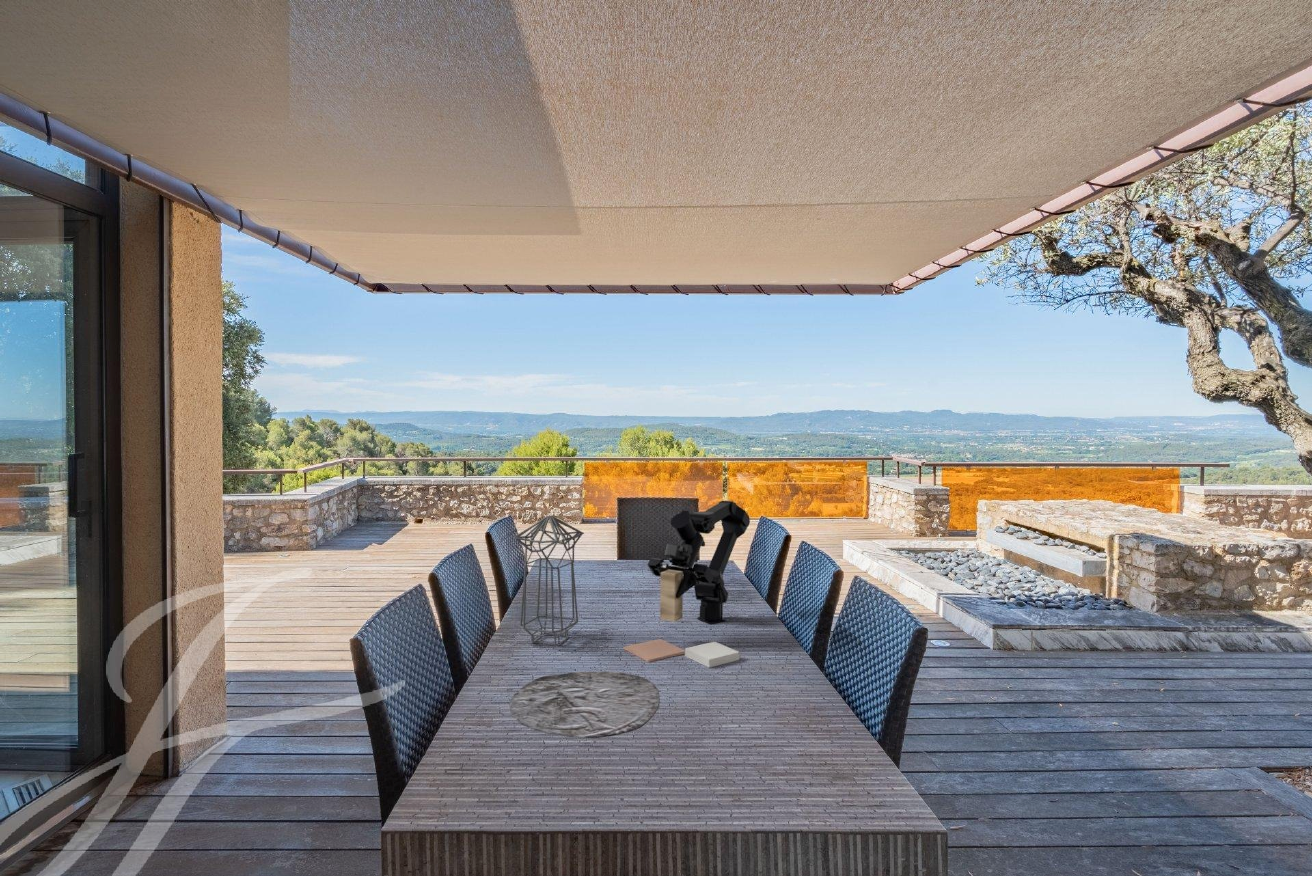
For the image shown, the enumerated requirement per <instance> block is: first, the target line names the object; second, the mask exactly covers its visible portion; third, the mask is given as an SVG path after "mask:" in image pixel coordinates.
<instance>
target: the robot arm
mask: <svg viewBox="0 0 1312 876" xmlns="http://www.w3.org/2000/svg"><path fill="white" fill-rule="evenodd" d="M720 521H721V527H722V531H723V532H722V534H721V537H720V538H719V541H718V544H717V546H716V547H715V550H714V553H713V556H712V559H711V561H710V563H709V565H708V564H703V563H701V564H700V563H698V561H699V558H698V554H699V553H700V550H701V547H706V542H705V539H704V536H702V534H705V535H707V534H711V532H713V530H714V529H715V526H716V525H715V524H717V523H718V522H720ZM750 522H751V518H750V516H749V514H748V512H747V511H746V510H745V509H743V508H741V507H740V506H738V504H737V503H736V502H734V501H731V500H721V501H718V503H717V504H715V505H713V506H712V507H710V508H708V509H706V510H704V511H694V512H689V510H687V509H685V510H683V509H682V510H681V511H680V513H677V514H675V515H674V516H673V517H671V520H670V525H671V527H672V529H673V531H674V532H675V534H676V536H677V537H678V539H679V540H681V542H680V544H679V545H678V544H670V543H668V544H666V546H665V550H664V554H663V556H664V557H668V558H669V559H668V562H669V563H671V564H668V563H667V562H666V561H664V558H656V557H652V558H649V560H648V562H647V564H646V565H647V567H648V568H649V570H650V571H651V573H652V575H653V576H655V577H660V578H661V572H663V571H666V570H676V571H683V579H682V581H681V584H680V586H679V588H678V590H677V593H676V598H679V597H680V596H682V595H684V594H685V593H686V592H688V591H690V589H692V588H694V594H695V599H696V600H697V601H700V605H699V616H697V618H696V619H697V620H699V621H702V622H705V623H707V624H710V625H713V624H716V623H717V624H718V623H721V622H726V621H727V619H726V618H725V617H724V615H723V613H724V612H723V611H724V609H723V608H724V607H723V606H724V604H726V603H727V601H728V598H729V592H728V591H727V590H726V587H725V585H726V584H725V579H724V577H723V576H724V573H725V570H726V567H727V565H728V562H729V560H730V557H731V555H732V552H733V551H734V547H735V545H736V542H737V540H738V538H740V537H741V536H742V535H744V534H745V533H746V532H747V529H748V527H749V526H750Z"/></svg>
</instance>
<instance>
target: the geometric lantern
mask: <svg viewBox="0 0 1312 876" xmlns="http://www.w3.org/2000/svg"><path fill="white" fill-rule="evenodd" d="M548 522H549V523H550V526H551V527H550V528H551V530H547V529H546V528H547V526H548ZM562 525H563V526H565V527H568V528H569V529H571V530H573V531H568V530H566V529H565V528H564V527H563V526H562ZM527 532H528V533H527ZM540 532H541V536H540V538H539V540H535V538H536V537H537V535H538V534H539V533H540ZM526 533H527V534H526ZM524 534H525V535H524ZM550 534H553V535H554V537H552V536H551V535H550ZM572 534H573V535H572ZM584 534H585V533H584V532H583V531H581V530H579V529H578V528H575V527H573V526H572V525H570V524H568V523H566V522H565V521H562V520H561V519H559V518H557V517H555V516H553V515H546V516H545V517H544V518H542V519H540V520H538V521H537V522H535V523H534V524H533V525H531V526H529V527H528V528H526V529H525V530H523V531H521V532H520V533H518V534H516V535H514V537H513V539H514V540H516V542H518V543H519V544H521V546H523V547H524V552H525V553H524V570H523V582H522V584H523V585H522V594H521V608H520V620H519V621H520V623H519V627H520V629H522V630H524V631H525V632H526V633H527V634H529V635H530V637H531V638H530V642H531V643H532V644H541V645H550V646H559V645H561V644H562V643H564V642H565V641H566V640H568V639H569V638H570V637H569V631H570V630H571V629H572V628H573V627H575V625H577V624H578V623H579V614H578V604H577V603H578V602H577V592H576V591H577V590H576V581H575V579H576V578H575V569H574V566H575V565H574V564H575V547H576V546H575V545H576V544H577V542H579V540H580V538H581V537H582V536H583V535H584ZM544 535H546V536H547V537H548V538H549V539H551V540H543V537H544ZM560 536H561V540H560ZM570 541H572V545H571V544H570ZM527 542H529V544H527ZM534 543H535V544H536V543H537V544H538V548H539V549H536V547H535V546H534ZM546 543H548V544H547V545H546V546H544V547H543V548H542V547H541V544H546ZM549 543H550V544H549ZM557 544H560V545H563V548H564V549H565V551H564V552H563V555H562V556H561V557H560V558H554V557H553V558H552V557H550V556H551V554H552V552H553V551H554V549H555V547H556V546H557ZM570 545H571V546H570ZM551 546H552V548H551V550H550V551H549V553H548V554H546V553H545V550H546V549H549V547H551ZM567 546H568V547H567ZM570 550H572V555H571V554H570V552H569V551H570ZM528 551H529V552H530V554H529V556H528ZM533 553H536V554H537V556H538V557H539V558H537V559H534V560H531V561H530V559H531V557H532V554H533ZM540 553H542V555H543V557H542V556H541V554H540ZM566 553H567V554H568V556H569V557H568V558H569V559H566V558H565V556H566ZM550 560H554V561H559V563H558V564H557V566H553V565H552V562H550ZM537 561H539V565H529V564H532V563H535V562H537ZM542 561H545V566H542ZM562 561H568V562H569V563H566V564H563V565H561V562H562ZM548 564H549V566H548ZM560 565H561V566H560ZM569 565H570V571H571V572H570V573H571V577H570V579H571V580H570V581H571V602H572V603H571V607H572V617H568V616H567V617H566V616H563V609H562V608H563V607H562V591H561V590H562V589H561V576H560V574H561V573H560V571H561V570H560V569H562V568H564V567H566V566H569ZM527 567H528V568H529V567H530V568H538V585H537V587H538V588H537V602H536V603H537V604H536V616H535V617H534V618H532V619H530V620H528V621H526V611H527V610H526V609H527V606H526V603H527V600H526V599H527V569H528V568H527ZM542 569H545V609H544V610H545V615H539V613H540V593H541V578H542V577H541V576H542V573H541V572H542ZM548 569H550V593H551V595H550V596H551V597H550V598H551V599H550V601H551V607H550V608H551V615H548V573H549V572H548ZM553 570H557V584H558V585H557V586H558V599H559V601H558V602H559V615H560V616H556V615H555V616H554V575H553V573H554V571H553ZM542 618H545V620H544V626H543V625H542V623H541V620H540V619H542ZM547 618H549V619H550V618H551V626H546V625H547ZM554 619H558V620H559V619H560V627H554V625H555V623H554V622H555V621H554ZM535 620H537V621H538V624H539V625H540V628H531V627H526V625H528V624H529V623H531V622H533V621H535ZM563 620H571V621H570V623H569V624H568V625H567V626H565V627H564V622H563ZM546 629H547V630H546ZM548 629H549V630H548ZM531 631H533V633H532V632H531ZM538 632H540V634H536V633H538ZM557 633H559V634H557ZM547 635H548V636H547ZM561 637H565V638H564V639H563V640H560V638H561ZM539 638H547V639H548V638H549V639H553V640H554V643H550V642H541V641H535V640H536V639H539Z"/></svg>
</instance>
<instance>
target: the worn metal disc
mask: <svg viewBox="0 0 1312 876" xmlns="http://www.w3.org/2000/svg"><path fill="white" fill-rule="evenodd" d="M659 706H660V695H659V690H658V688H657V686H656V685H655V684H654V683H653V682H652V681H650V680H649V679H647V678H645V677H643V676H640V675H636V674H632V673H628V672H627V673H626V672H618V671H607V670H606V671H604V670H603V671H602V670H601V671H600V670H598V671H597V670H596V671H595V670H593V671H575V672H573V671H572V672H567V673H560V674H550V675H545V676H544V675H543V676H540V677H538V678H535V679H534V680H532V681H530V682H528V683H527V684H525V685H523V687H521V688H520V689H518V690H517V691H516V692H515V693H514V694H513V696H512V698H511V699H510V700H509V713H510V714H511V715H512V718H514V719H515V720H516V721H517V722H519V724H521V725H523V726H524V727H527V728H529V729H531V730H534V731H537V732H542V733H544V734H547V735H558V736H562V737H567V738H575V739H576V738H578V739H579V738H580V739H581V738H582V739H596V738H598V739H600V738H607V737H613V736H617V735H621V734H627V733H630V732H632V731H635V730H637V729H641V728H642V727H643V726H645V724H646V723H648V722H649V721H650V720H651V719H652V717H653V716H654V715H655V713H656V712H657V710H658V709H659Z"/></svg>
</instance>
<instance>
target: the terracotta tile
mask: <svg viewBox="0 0 1312 876" xmlns="http://www.w3.org/2000/svg"><path fill="white" fill-rule="evenodd" d="M623 650H625V651H627V653H628V652H629V653H631V654H632V655H634V656H636V657H638V658H640V659H641V660H643V661H645V662H648V663H650V662H655V661H660V660H662V659H668V658H671V657H676V656H680V655H685V649H683V648H681V647H678V646H677V645H674V644H673V643H670V642H668V641H666V640H663V639H661V638H658V639H652V640H648V641H644V642H639V643H635V644H634V643H633V644H631V645H630V644H629V645H625V646H624V645H623Z"/></svg>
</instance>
